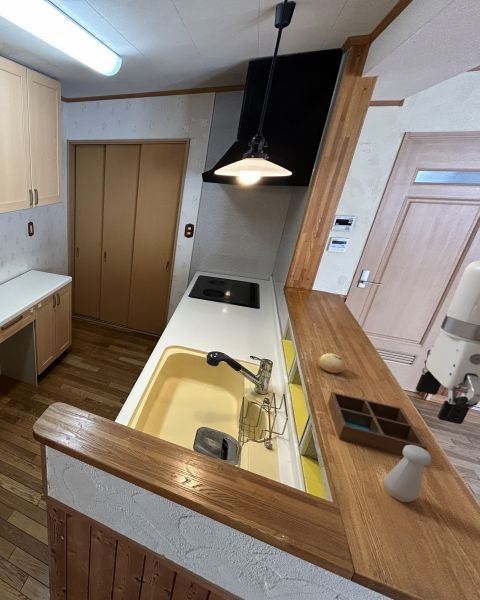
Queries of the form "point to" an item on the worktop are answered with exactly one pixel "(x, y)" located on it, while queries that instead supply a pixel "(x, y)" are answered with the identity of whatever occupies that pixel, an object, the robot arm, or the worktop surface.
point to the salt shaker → (407, 474)
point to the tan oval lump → (331, 363)
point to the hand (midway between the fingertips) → (436, 405)
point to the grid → (373, 424)
